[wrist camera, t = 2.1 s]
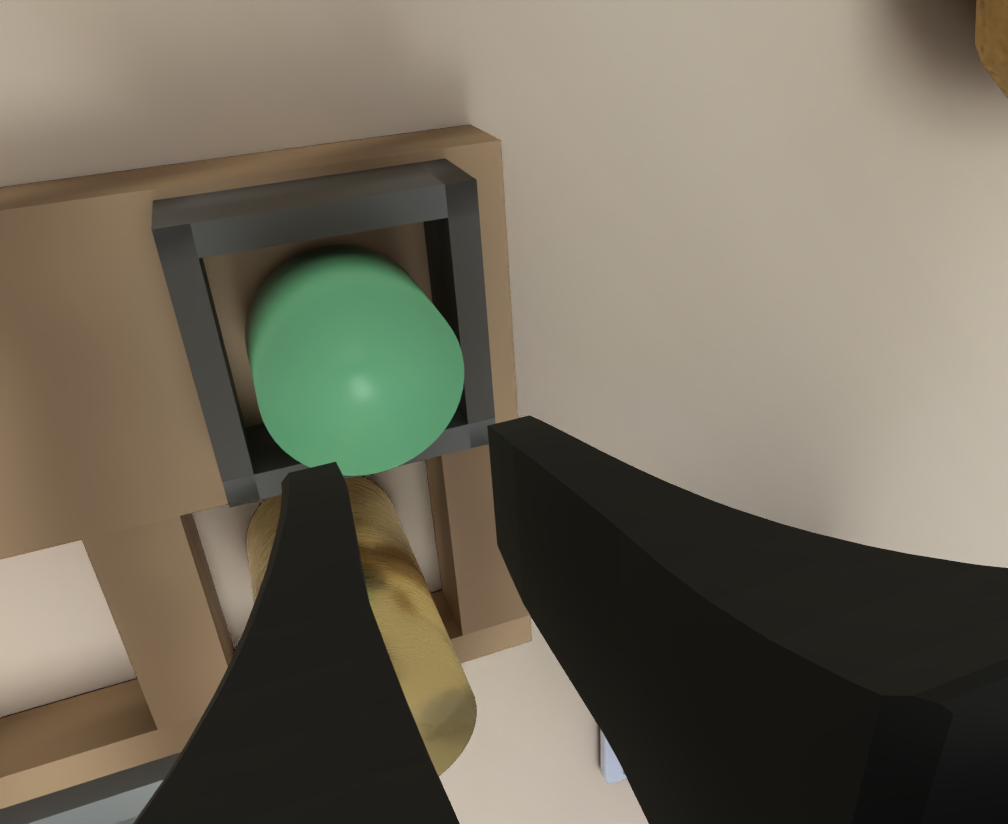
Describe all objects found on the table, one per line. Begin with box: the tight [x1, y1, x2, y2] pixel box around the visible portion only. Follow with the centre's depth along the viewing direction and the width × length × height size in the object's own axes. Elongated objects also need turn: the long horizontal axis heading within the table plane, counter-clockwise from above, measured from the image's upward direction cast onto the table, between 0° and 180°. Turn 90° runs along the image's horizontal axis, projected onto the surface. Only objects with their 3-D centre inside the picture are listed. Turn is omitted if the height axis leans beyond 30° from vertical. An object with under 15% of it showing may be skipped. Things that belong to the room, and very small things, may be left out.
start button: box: [245, 245, 464, 476], centre depth 15 cm, size 4×4×2 cm
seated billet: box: [246, 476, 477, 776], centre depth 19 cm, size 4×4×7 cm
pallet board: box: [0, 125, 532, 809], centre depth 18 cm, size 18×14×4 cm
